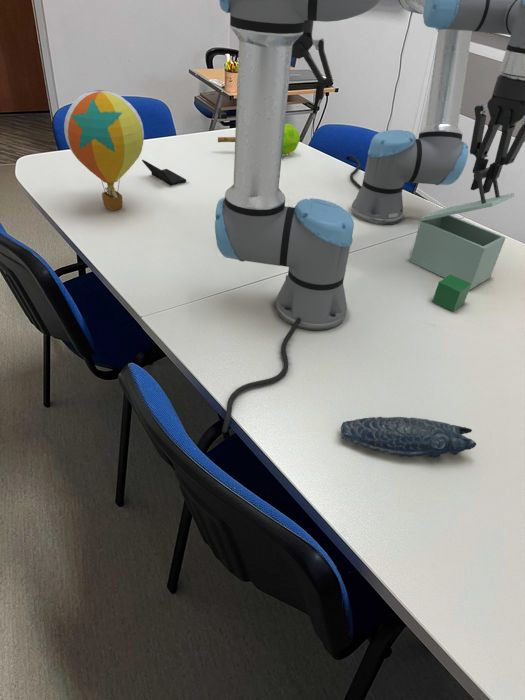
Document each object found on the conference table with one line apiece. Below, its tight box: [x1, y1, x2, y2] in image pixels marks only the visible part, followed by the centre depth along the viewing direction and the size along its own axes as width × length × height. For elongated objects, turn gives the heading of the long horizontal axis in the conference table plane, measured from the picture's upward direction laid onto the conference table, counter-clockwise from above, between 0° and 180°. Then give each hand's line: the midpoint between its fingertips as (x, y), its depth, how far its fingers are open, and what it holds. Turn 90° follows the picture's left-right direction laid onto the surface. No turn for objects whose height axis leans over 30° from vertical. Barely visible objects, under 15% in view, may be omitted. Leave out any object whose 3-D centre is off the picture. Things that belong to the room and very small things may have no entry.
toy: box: [63, 89, 145, 212], centre depth 136 cm, size 20×20×30 cm
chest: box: [409, 215, 506, 291], centre depth 129 cm, size 17×10×11 cm, turn 42°
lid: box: [420, 166, 515, 221], centre depth 122 cm, size 18×10×8 cm, turn 42°
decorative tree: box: [217, 123, 301, 155], centre depth 187 cm, size 18×10×30 cm
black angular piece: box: [141, 159, 187, 187], centre depth 162 cm, size 12×7×10 cm
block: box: [431, 275, 471, 312], centre depth 118 cm, size 5×5×5 cm
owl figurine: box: [340, 416, 477, 458], centre depth 82 cm, size 7×21×5 cm, turn 84°
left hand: (288, 109), depth 135 cm, fingers open, 13 cm apart
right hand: (480, 190), depth 118 cm, fingers closed on lid, 2 cm apart
